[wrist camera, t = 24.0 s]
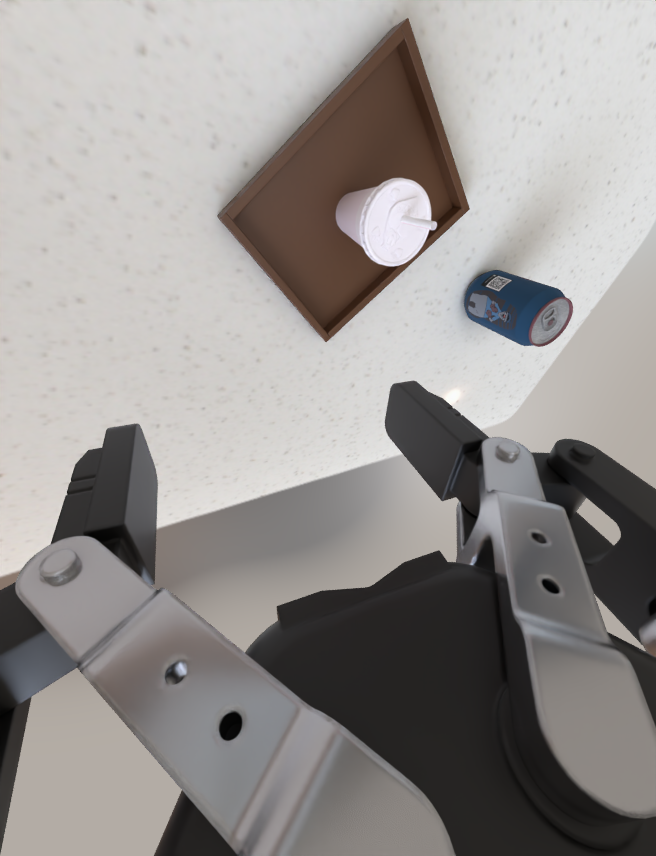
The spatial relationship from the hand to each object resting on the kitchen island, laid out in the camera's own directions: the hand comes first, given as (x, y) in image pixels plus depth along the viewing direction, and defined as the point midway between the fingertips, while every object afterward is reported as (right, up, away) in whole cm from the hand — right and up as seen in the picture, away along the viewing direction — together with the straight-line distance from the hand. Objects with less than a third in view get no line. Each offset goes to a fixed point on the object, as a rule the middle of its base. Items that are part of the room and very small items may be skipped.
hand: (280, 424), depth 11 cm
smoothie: (+4, +22, +24) cm, 33 cm away
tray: (+4, +23, +25) cm, 34 cm away
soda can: (+23, +19, +37) cm, 48 cm away
